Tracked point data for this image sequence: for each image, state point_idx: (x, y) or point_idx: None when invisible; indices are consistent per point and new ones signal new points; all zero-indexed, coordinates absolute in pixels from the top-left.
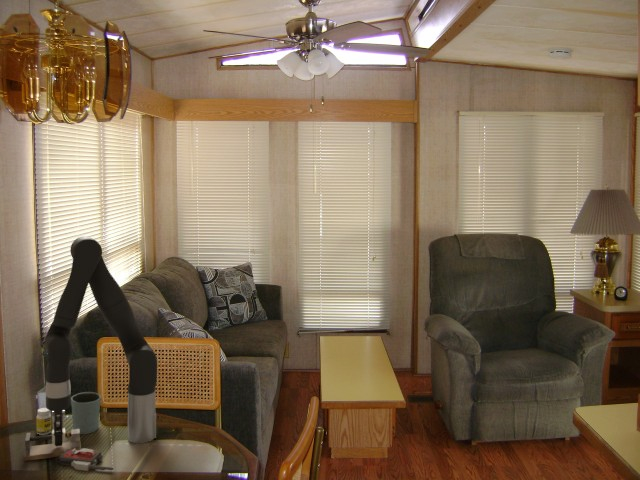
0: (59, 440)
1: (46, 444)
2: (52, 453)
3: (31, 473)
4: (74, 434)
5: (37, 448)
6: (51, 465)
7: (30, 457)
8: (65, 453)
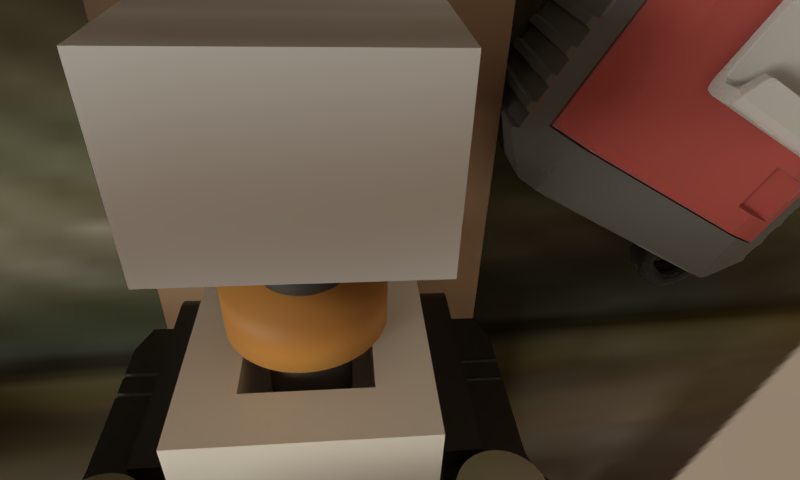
0: (498, 400)
1: None
2: None
3: (714, 418)
4: (457, 190)
5: None
6: (656, 292)
7: None
8: (697, 217)
